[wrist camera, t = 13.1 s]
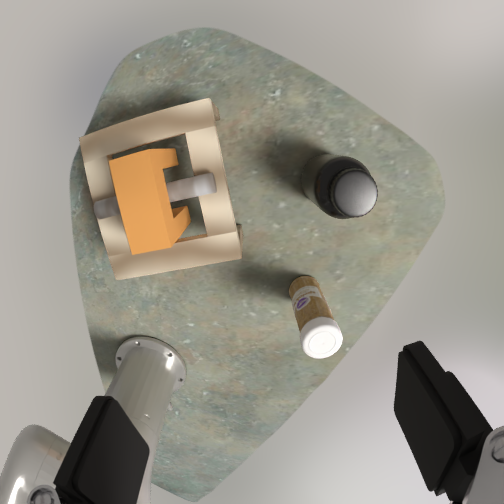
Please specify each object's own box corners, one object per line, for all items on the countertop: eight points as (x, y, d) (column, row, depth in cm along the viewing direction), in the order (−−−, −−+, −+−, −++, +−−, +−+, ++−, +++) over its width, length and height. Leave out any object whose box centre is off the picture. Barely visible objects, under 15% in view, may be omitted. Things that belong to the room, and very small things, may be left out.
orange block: (191, 221, 37) (171, 247, 28) (160, 227, 37) (132, 255, 28) (175, 148, 34) (148, 149, 25) (143, 156, 34) (108, 160, 25)
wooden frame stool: (243, 235, 42) (241, 265, 31) (140, 254, 43) (109, 287, 32) (218, 108, 36) (206, 94, 26) (111, 138, 37) (69, 138, 27)
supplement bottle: (297, 202, 40) (316, 224, 29) (302, 150, 38) (324, 152, 27) (346, 207, 41) (381, 231, 29) (353, 157, 38) (391, 163, 27)
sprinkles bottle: (299, 269, 43) (319, 319, 31) (325, 284, 44) (351, 335, 32) (282, 294, 45) (293, 350, 32) (307, 308, 45) (326, 365, 33)
